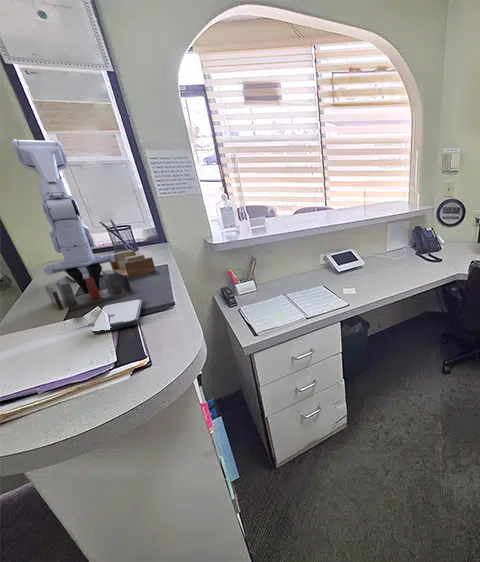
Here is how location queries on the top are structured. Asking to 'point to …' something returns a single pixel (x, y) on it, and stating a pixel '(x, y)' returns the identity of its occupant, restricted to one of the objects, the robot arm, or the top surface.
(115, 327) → the phone case
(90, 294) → the red boxy piece
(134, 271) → the wooden desk organizer
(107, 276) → the grey book rack
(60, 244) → the robot arm
